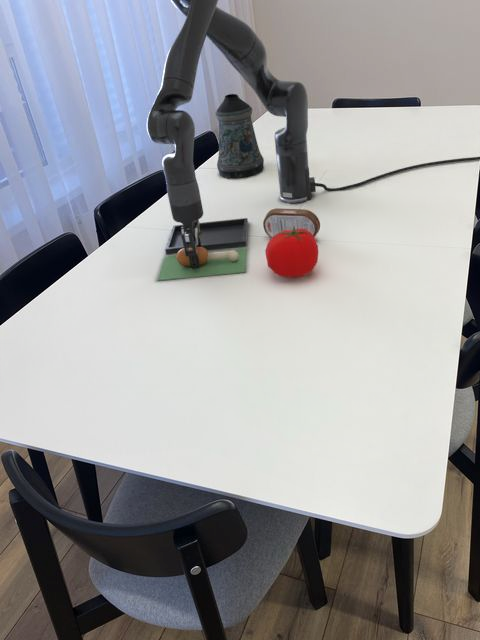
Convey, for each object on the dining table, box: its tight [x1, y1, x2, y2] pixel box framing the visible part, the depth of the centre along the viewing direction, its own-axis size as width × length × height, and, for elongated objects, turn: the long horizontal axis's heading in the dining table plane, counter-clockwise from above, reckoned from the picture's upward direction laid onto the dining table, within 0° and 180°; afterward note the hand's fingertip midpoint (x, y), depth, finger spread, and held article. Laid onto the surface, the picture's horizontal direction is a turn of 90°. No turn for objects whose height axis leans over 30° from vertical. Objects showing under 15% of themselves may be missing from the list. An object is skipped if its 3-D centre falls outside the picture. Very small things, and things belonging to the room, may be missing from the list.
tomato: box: [265, 226, 319, 278], centre depth 135 cm, size 13×12×11 cm
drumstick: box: [176, 247, 239, 266], centre depth 145 cm, size 16×5×5 cm, turn 89°
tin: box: [262, 207, 321, 239], centre depth 151 cm, size 15×3×8 cm, turn 71°
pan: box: [164, 217, 249, 256], centre depth 159 cm, size 22×16×2 cm
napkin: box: [157, 247, 248, 282], centre depth 147 cm, size 22×13×1 cm, turn 89°
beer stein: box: [215, 93, 265, 180], centre depth 197 cm, size 16×19×25 cm
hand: (197, 261), depth 146 cm, fingers open, 6 cm apart
